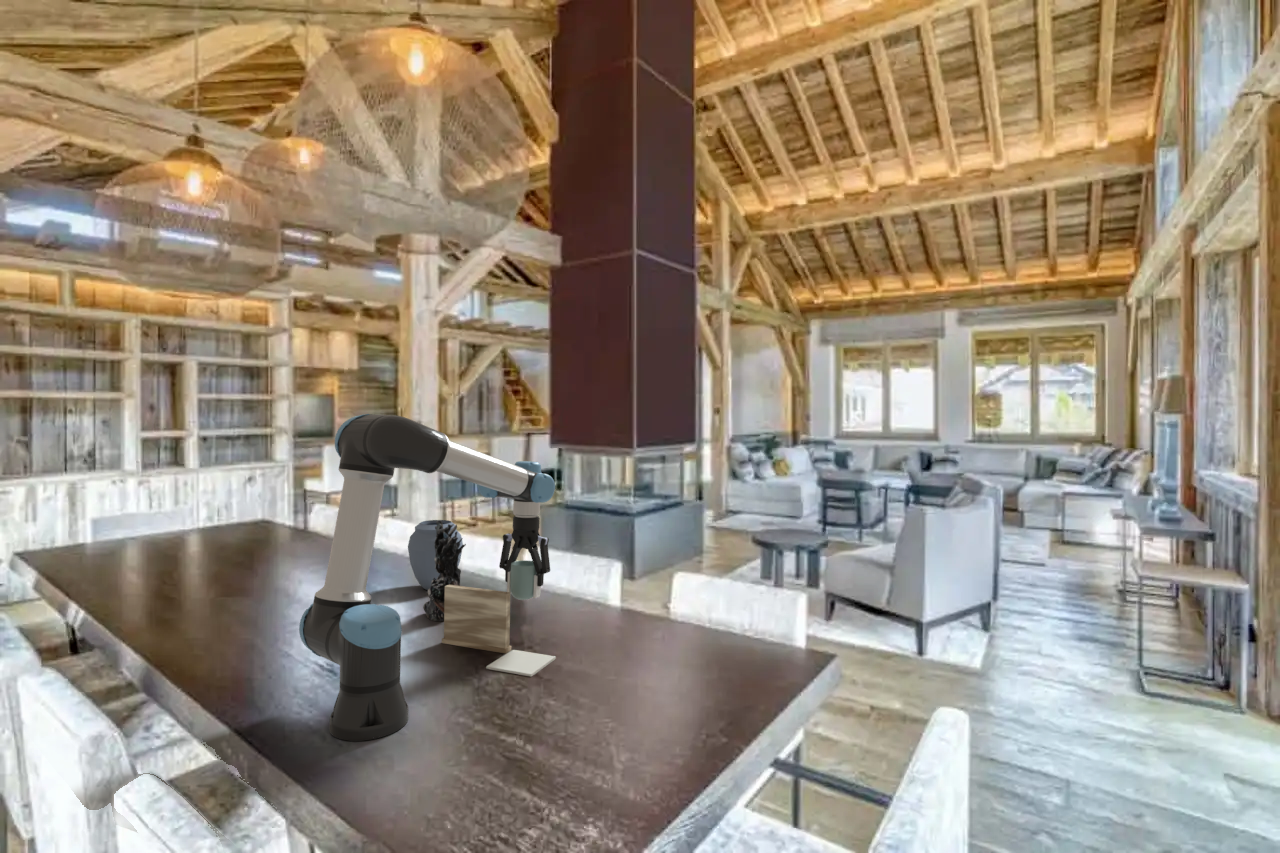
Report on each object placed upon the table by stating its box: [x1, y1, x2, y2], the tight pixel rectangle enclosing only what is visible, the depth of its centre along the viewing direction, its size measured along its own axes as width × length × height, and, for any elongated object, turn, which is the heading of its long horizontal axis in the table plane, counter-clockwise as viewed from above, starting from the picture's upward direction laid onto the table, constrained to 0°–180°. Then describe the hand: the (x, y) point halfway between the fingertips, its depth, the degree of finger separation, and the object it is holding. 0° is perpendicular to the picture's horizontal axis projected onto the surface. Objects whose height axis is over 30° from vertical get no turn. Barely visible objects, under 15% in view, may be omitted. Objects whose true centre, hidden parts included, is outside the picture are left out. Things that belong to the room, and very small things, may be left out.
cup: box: [510, 559, 537, 601], centre depth 186 cm, size 8×8×10 cm
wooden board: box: [441, 585, 512, 654], centre depth 182 cm, size 3×21×16 cm, turn 70°
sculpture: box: [422, 519, 467, 622], centre depth 208 cm, size 14×15×30 cm
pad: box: [485, 649, 557, 678], centre depth 170 cm, size 13×13×1 cm
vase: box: [407, 519, 464, 591], centre depth 242 cm, size 20×20×24 cm
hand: (523, 595), depth 186 cm, fingers closed on cup, 8 cm apart
